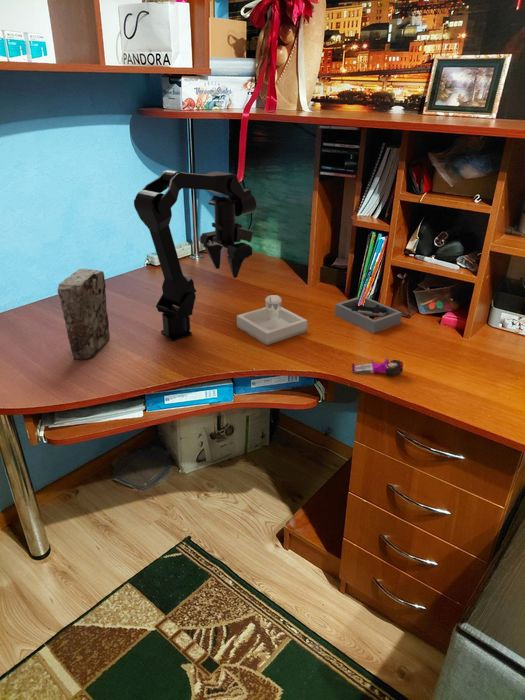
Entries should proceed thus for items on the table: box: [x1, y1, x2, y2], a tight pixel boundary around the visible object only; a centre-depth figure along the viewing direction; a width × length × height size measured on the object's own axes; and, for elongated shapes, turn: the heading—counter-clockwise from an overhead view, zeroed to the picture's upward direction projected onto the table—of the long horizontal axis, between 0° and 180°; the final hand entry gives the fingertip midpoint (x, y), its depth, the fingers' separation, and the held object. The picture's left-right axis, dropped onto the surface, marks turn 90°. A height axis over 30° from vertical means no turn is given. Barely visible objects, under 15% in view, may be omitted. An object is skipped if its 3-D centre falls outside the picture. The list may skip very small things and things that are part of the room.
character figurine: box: [351, 356, 404, 377], centre depth 128 cm, size 6×5×12 cm
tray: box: [236, 306, 308, 346], centre depth 149 cm, size 14×14×4 cm
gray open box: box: [334, 297, 403, 334], centre depth 155 cm, size 11×15×4 cm
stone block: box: [57, 268, 111, 361], centre depth 133 cm, size 13×7×20 cm, turn 175°
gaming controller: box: [349, 302, 387, 320], centre depth 154 cm, size 11×4×7 cm
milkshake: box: [264, 294, 282, 329], centre depth 146 cm, size 4×5×10 cm
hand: (226, 272), depth 155 cm, fingers open, 9 cm apart
